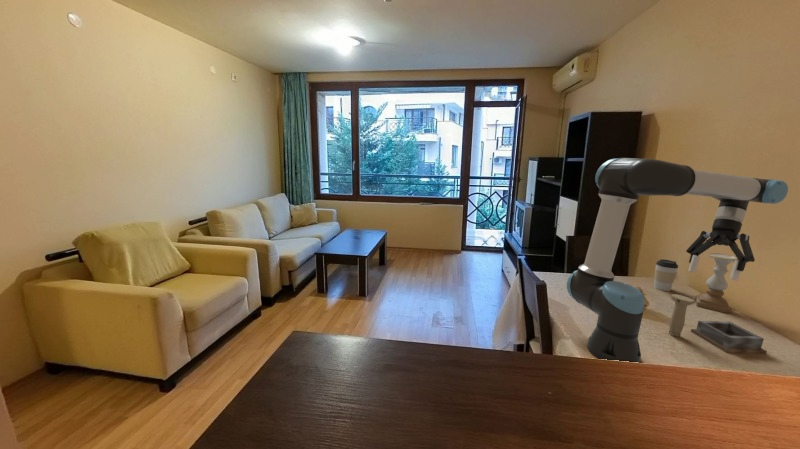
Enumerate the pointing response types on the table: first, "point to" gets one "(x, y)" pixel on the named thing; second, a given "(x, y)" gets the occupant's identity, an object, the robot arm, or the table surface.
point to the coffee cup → (665, 274)
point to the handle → (678, 314)
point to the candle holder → (716, 285)
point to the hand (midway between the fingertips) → (711, 275)
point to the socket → (729, 337)
